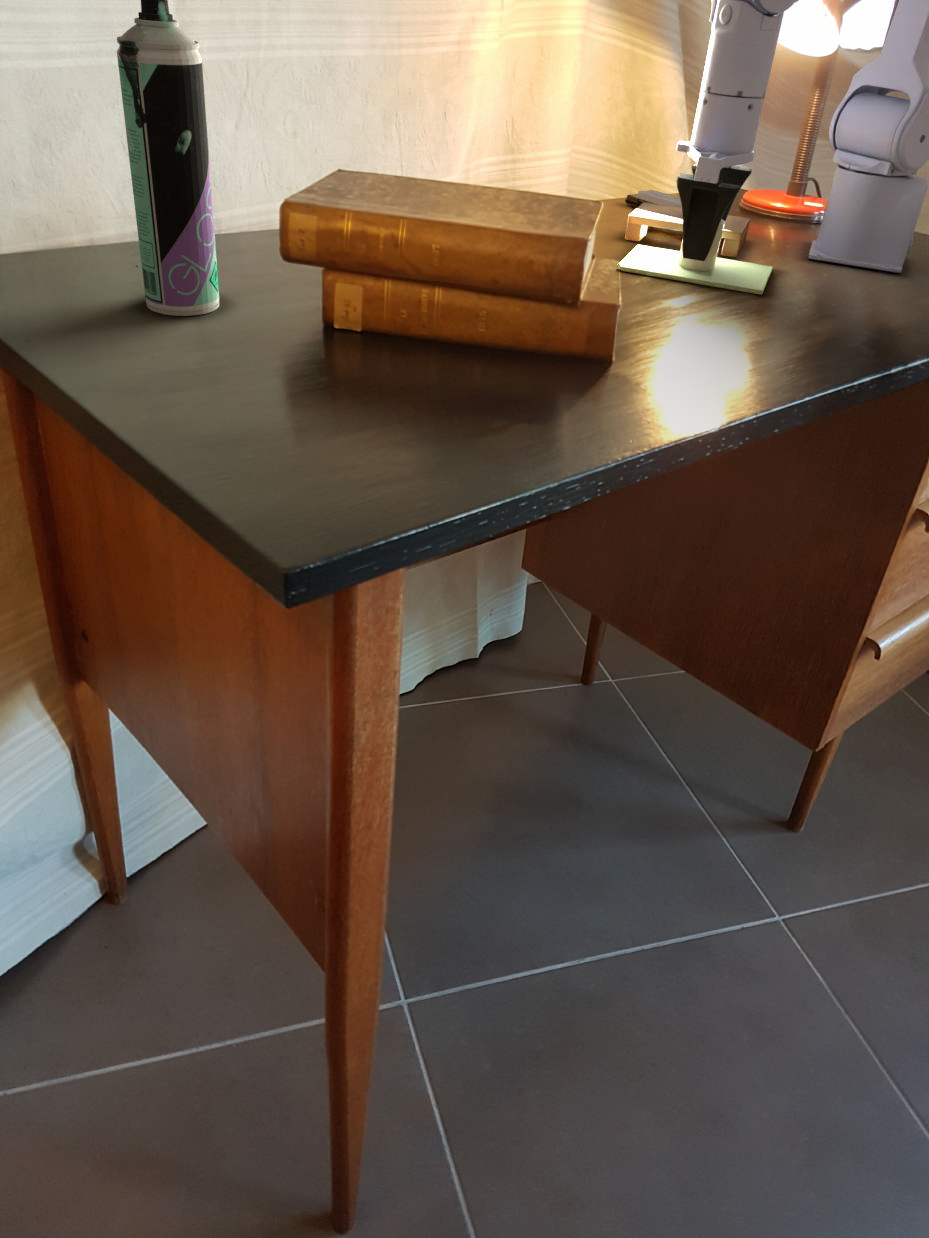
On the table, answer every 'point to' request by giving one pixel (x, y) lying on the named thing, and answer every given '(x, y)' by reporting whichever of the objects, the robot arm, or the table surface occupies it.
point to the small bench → (673, 220)
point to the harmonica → (653, 199)
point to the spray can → (169, 162)
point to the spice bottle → (710, 259)
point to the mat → (721, 276)
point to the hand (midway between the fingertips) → (699, 251)
